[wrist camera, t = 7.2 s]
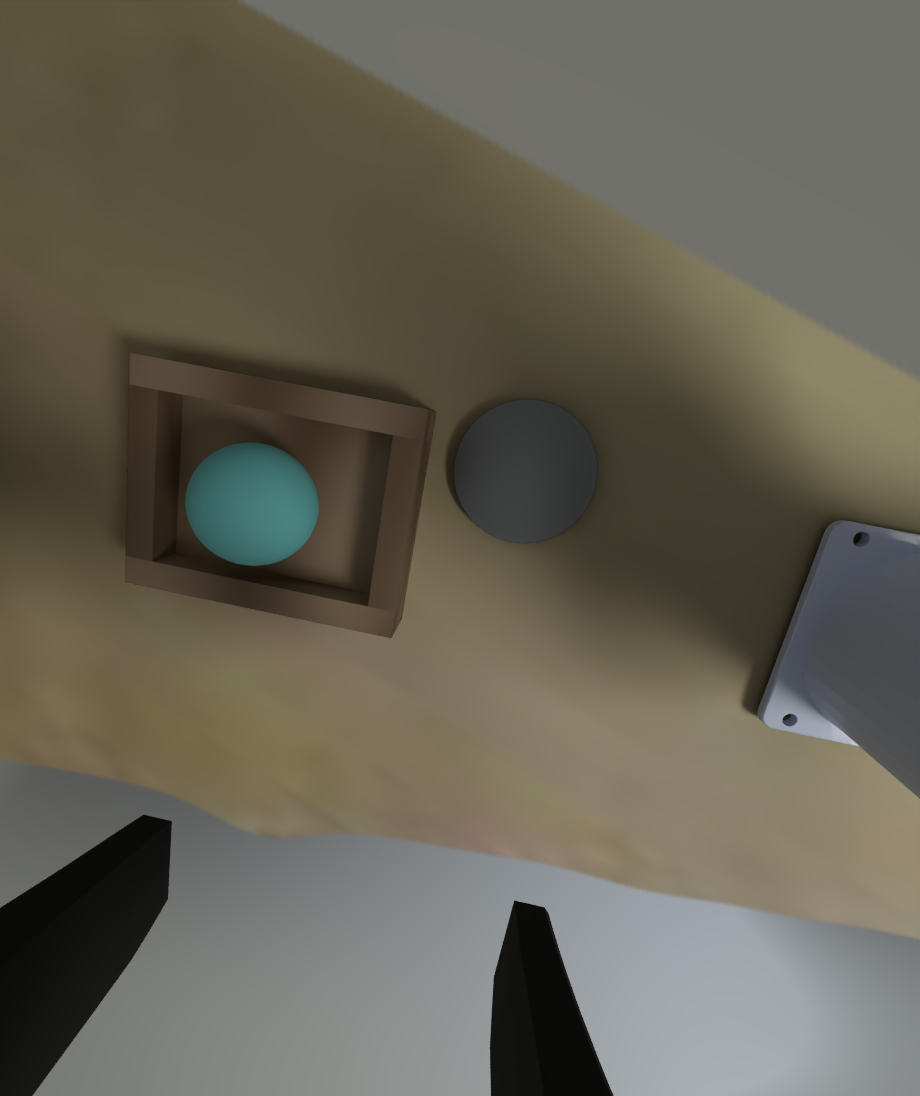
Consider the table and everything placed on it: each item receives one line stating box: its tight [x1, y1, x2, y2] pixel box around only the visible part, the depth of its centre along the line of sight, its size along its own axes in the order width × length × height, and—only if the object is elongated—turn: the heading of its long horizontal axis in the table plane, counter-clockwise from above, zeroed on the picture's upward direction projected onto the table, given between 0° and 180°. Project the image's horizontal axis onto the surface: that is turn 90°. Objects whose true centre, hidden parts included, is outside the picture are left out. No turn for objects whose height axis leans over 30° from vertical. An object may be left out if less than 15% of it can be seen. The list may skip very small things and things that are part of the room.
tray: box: [125, 353, 436, 638], centre depth 17 cm, size 10×8×2 cm
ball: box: [185, 443, 319, 566], centre depth 16 cm, size 4×4×4 cm
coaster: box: [454, 399, 598, 543], centre depth 17 cm, size 5×5×1 cm
